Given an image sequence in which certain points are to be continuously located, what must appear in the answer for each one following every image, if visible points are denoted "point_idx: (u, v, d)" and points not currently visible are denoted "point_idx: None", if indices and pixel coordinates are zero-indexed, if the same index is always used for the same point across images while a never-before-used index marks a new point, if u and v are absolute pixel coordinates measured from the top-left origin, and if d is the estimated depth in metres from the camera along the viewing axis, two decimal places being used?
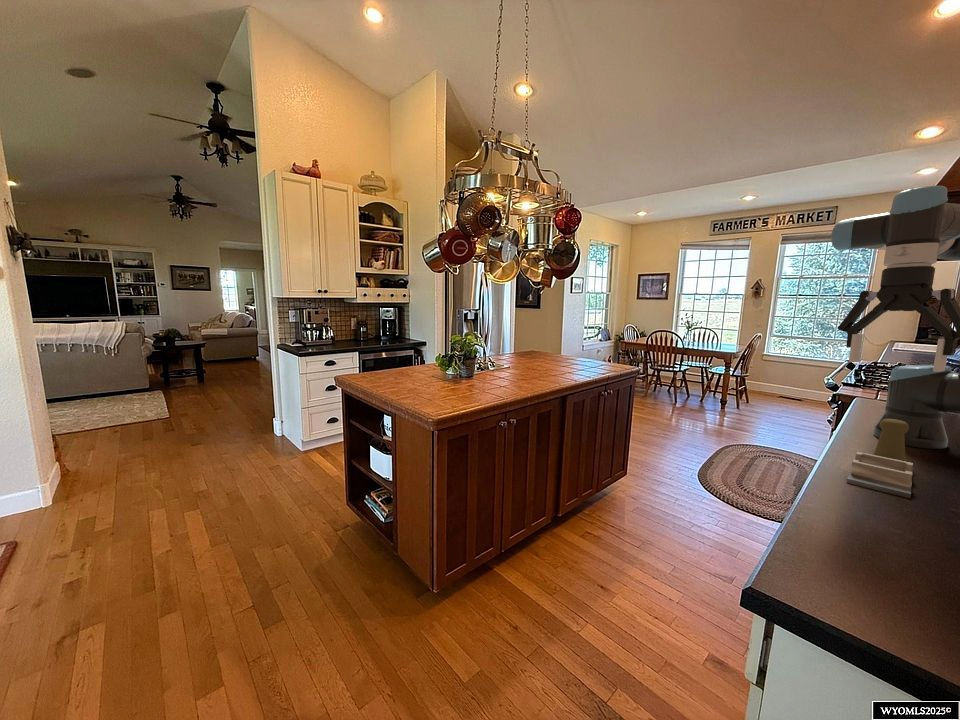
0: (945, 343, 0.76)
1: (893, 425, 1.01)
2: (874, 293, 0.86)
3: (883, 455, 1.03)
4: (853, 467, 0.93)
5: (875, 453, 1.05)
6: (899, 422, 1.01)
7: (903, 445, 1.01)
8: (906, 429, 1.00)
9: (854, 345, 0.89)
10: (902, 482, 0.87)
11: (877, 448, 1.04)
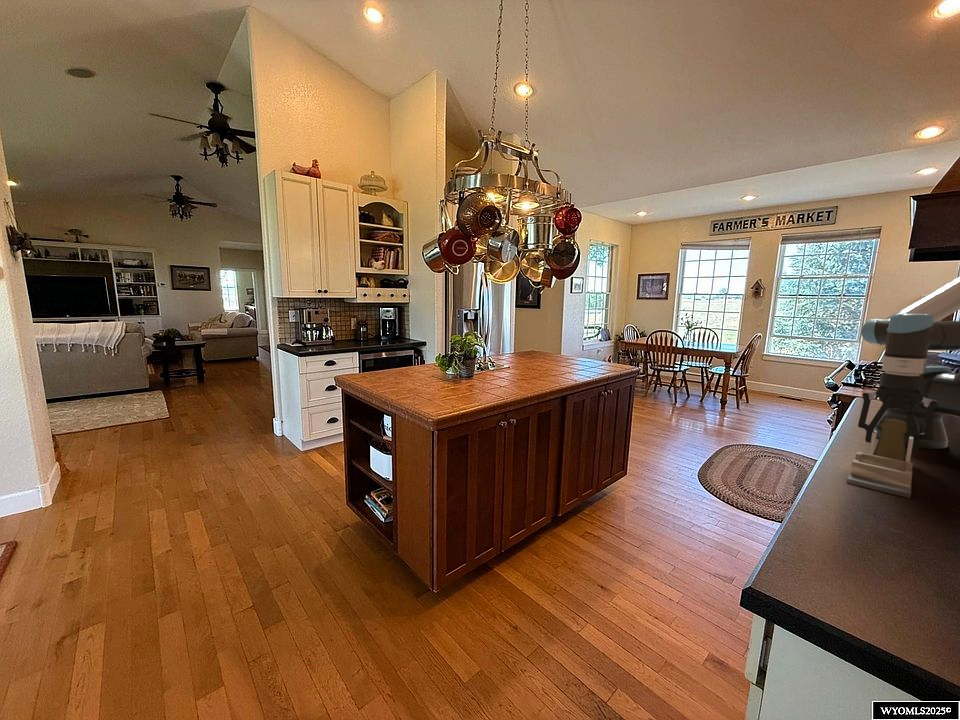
0: (913, 442, 1.00)
1: (893, 425, 1.01)
2: (873, 393, 1.04)
3: (883, 455, 1.03)
4: (853, 467, 0.93)
5: (875, 453, 1.05)
6: (899, 422, 1.01)
7: (903, 445, 1.01)
8: (906, 429, 1.00)
9: (874, 442, 1.05)
10: (902, 482, 0.87)
11: (877, 448, 1.04)
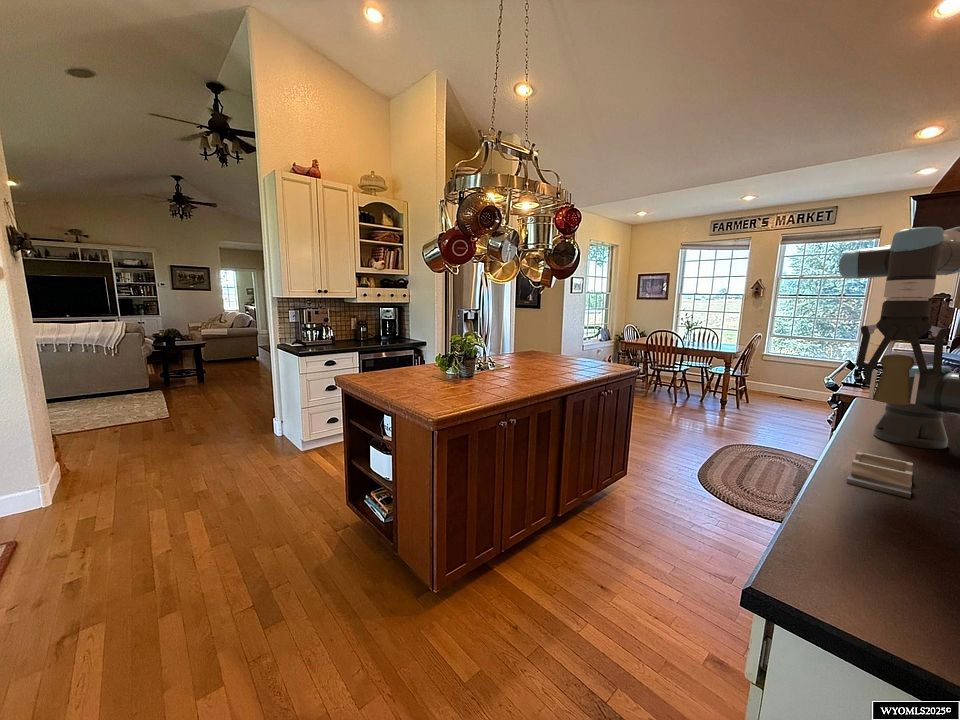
0: (920, 378, 0.86)
1: (896, 360, 0.87)
2: (873, 326, 0.91)
3: (884, 395, 0.89)
4: (853, 467, 0.93)
5: (875, 395, 0.91)
6: (903, 356, 0.87)
7: (908, 383, 0.87)
8: (911, 364, 0.87)
9: (874, 382, 0.91)
10: (902, 482, 0.87)
11: (878, 389, 0.91)
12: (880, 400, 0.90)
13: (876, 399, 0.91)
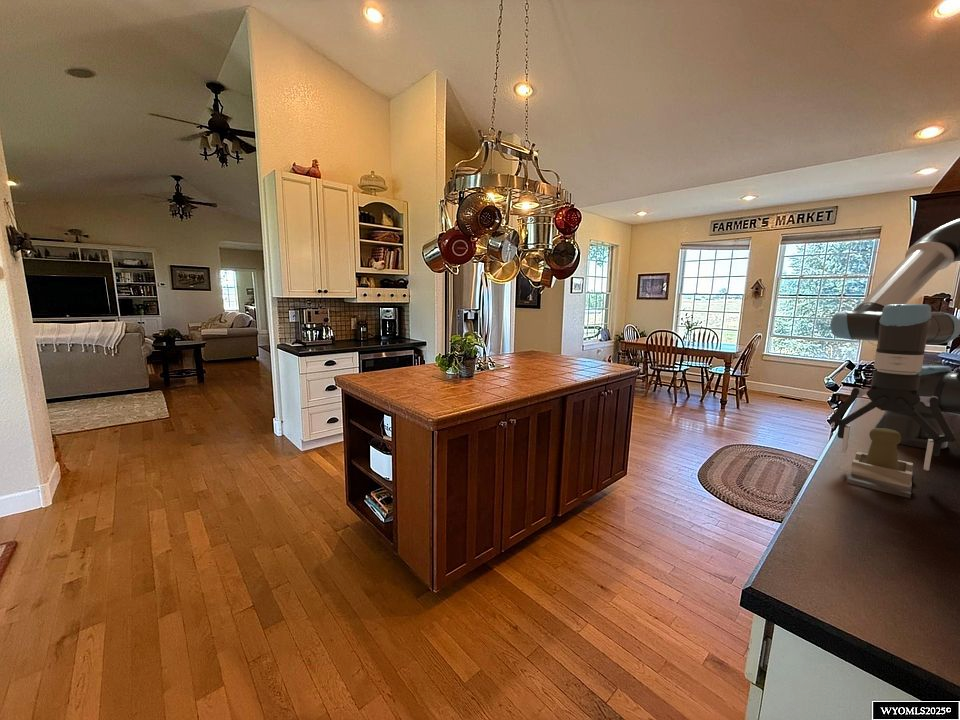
0: (933, 445, 0.85)
1: (884, 435, 0.90)
2: (864, 391, 0.93)
3: None
4: (853, 467, 0.93)
5: None
6: (891, 432, 0.90)
7: (896, 458, 0.90)
8: (898, 439, 0.89)
9: (846, 437, 0.95)
10: (902, 482, 0.87)
11: (867, 461, 0.93)
12: None
13: None
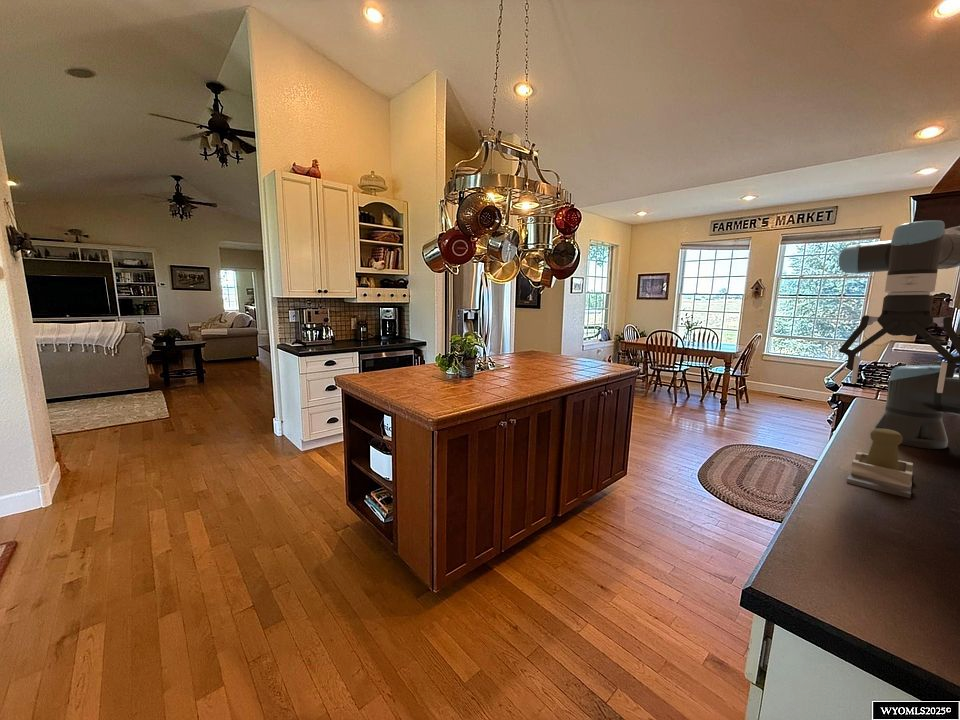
0: (947, 366, 0.83)
1: (885, 436, 0.90)
2: (875, 318, 0.90)
3: None
4: (853, 467, 0.93)
5: None
6: (892, 433, 0.89)
7: (896, 458, 0.90)
8: (899, 440, 0.89)
9: (856, 367, 0.93)
10: (902, 482, 0.87)
11: (867, 461, 0.93)
12: None
13: None
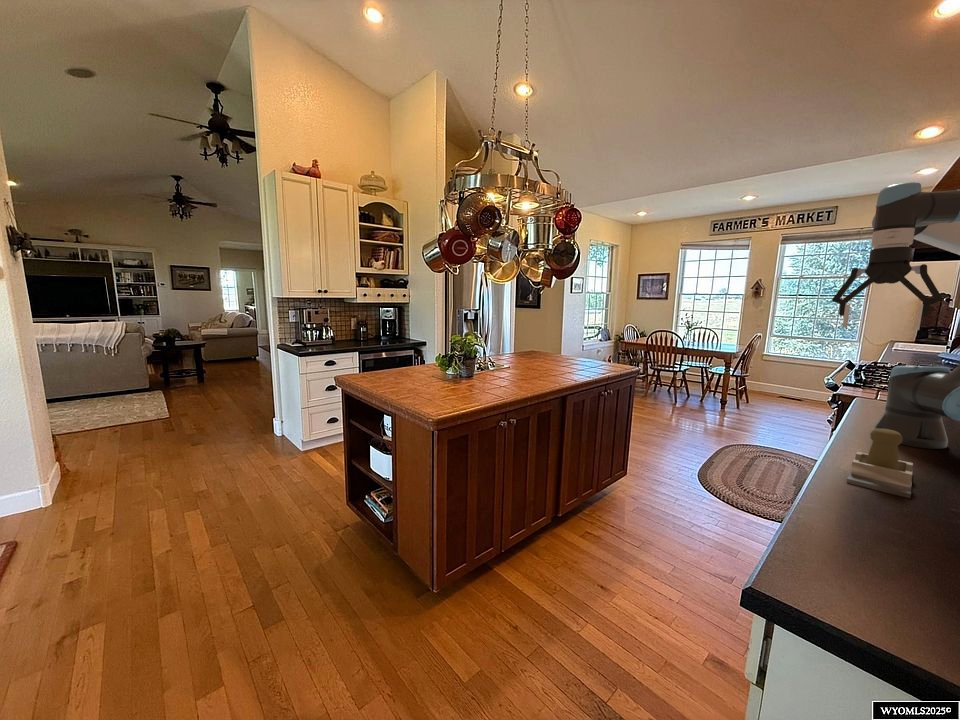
0: (923, 307, 0.97)
1: (885, 436, 0.90)
2: (863, 269, 1.05)
3: None
4: (853, 467, 0.93)
5: None
6: (892, 433, 0.89)
7: (896, 458, 0.90)
8: (899, 440, 0.89)
9: (847, 313, 1.08)
10: (902, 482, 0.87)
11: (867, 461, 0.93)
12: None
13: None
